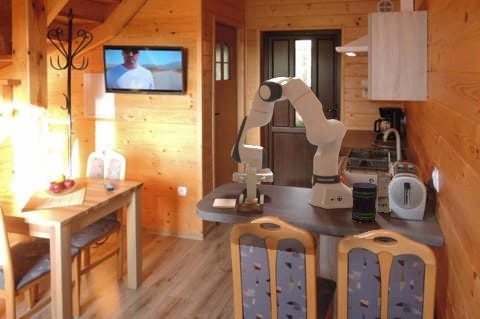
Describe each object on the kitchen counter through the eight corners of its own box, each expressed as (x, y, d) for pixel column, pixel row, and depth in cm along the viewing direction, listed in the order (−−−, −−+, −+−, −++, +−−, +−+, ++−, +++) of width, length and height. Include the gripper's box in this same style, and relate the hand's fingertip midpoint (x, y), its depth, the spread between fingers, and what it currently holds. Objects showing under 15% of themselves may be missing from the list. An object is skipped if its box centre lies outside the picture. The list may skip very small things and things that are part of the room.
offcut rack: (263, 201, 235) (263, 194, 234) (263, 211, 217) (263, 203, 216) (240, 200, 235) (240, 193, 235) (238, 211, 217) (238, 203, 217)
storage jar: (373, 217, 208) (374, 182, 206) (378, 224, 199) (379, 188, 196) (349, 216, 209) (350, 182, 207) (353, 223, 199) (354, 187, 197)
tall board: (256, 201, 234) (256, 168, 231) (255, 207, 224) (255, 172, 221) (247, 201, 234) (247, 168, 231) (246, 207, 224) (246, 172, 221)
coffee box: (392, 213, 214) (394, 177, 211) (376, 212, 215) (378, 176, 213) (390, 207, 223) (392, 172, 220) (375, 207, 224) (377, 172, 221)
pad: (236, 200, 236) (236, 199, 236) (234, 207, 223) (234, 206, 223) (215, 200, 236) (215, 198, 236) (212, 207, 224) (212, 205, 223)
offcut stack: (257, 208, 222) (257, 198, 221) (257, 210, 219) (257, 200, 218) (244, 208, 222) (244, 198, 221) (244, 210, 219) (244, 199, 218)
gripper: (232, 168, 252) (231, 173, 239) (272, 168, 251) (273, 174, 238) (233, 180, 253) (231, 186, 240) (272, 180, 252) (273, 186, 239)
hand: (252, 180), depth 239 cm, fingers open, 8 cm apart
